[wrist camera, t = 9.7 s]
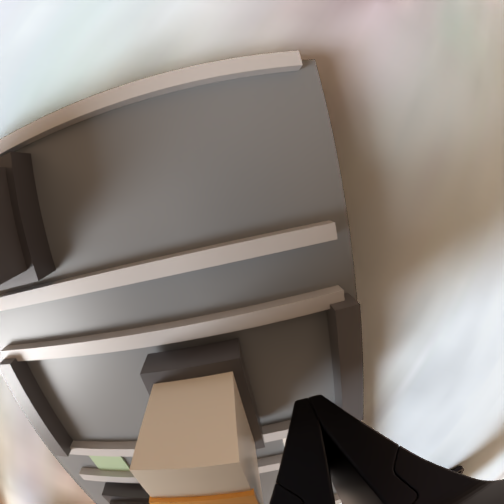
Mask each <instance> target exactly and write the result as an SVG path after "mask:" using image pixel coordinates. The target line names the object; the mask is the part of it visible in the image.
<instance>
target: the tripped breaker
mask: <svg viewBox="0 0 504 504" xmlns="http://www.w3.org/2000/svg"><path fill="white" fill-rule="evenodd" d="M140 376H141V378H142V380H143V383H144V385H145V387H146V389H147V391H148V394H149V396H150V397H149V401H148V404H147V407H146V411H145V414H144V418H143V421H142V425H141V428H140V432H139V436H138V439H137V443H136V446H135V450H134V454H133V458H132V461H131V465H130V469H129V470H130V472H131V473H132V474H133V475H134V477H135V478H136V479H137V481H138V482H139V483H140V484H141V486H142V487H143V488H144V489H145V491H146V492H147V493H148V494H149V495H150V497H149V503H150V504H264V503H263V497H262V490H261V483H260V476H259V470H258V463H257V456H256V449H260V448H265V443H264V437H263V431H262V425H261V422H260V418H259V415H258V411H257V407H256V404H255V400H254V397H253V393H252V389H251V386H250V382H249V378H248V374H247V371H246V367H245V363H244V359H243V355H242V352H241V348H240V344H239V340H238V338H235V339H230V340H225V341H220V342H215V343H210V344H204V345H199V346H193V347H187V348H182V349H176V350H170V351H163V352H157V353H150V354H148V355H147V357H146V360H145V362H144V365H143V367H142V370H141V372H140Z"/></svg>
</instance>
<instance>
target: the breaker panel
mask: <svg viewBox="0 0 504 504" xmlns="http://www.w3.org/2000/svg"><path fill="white" fill-rule="evenodd" d="M235 338H238V340H239V344H240V348H241V352H242V355H243V359H244V363H245V367H246V371H247V374H248V378H249V382H250V386H251V389H252V393H253V397H254V400H255V404H256V407H257V411H258V415H259V418H260V422H261V425H262V431H263V437H264V443H265V448H260V449H256V456H257V463H258V470H259V476H260V483H261V490H262V497H263V503H264V504H269V502H270V499H271V496H272V493H273V489H274V486H275V484H276V479H277V475H278V471H279V467H280V463H281V459H282V455H283V451H284V447H285V442H286V438H287V434H288V430H289V425H290V421H291V416H292V411H293V407H294V402H295V401H296V400H300V399H304V398H309V397H311V396H315V395H319V394H320V395H323V396H324V397H326V398H327V399H329V400H330V401H331V402H333V403H334V404H336V405H337V406H339V407H340V408H342V409H343V410H345V411H346V412H348V413H349V414H351V415H352V416H354V417H355V418H357V419H358V420H360V421H361V420H363V352H362V330H361V313H360V304H359V303H358V302H357V295H356V284H355V274H354V264H353V255H352V247H351V239H350V231H349V224H348V217H347V210H346V203H345V197H344V191H343V185H342V179H341V173H340V168H339V162H338V157H337V152H336V147H335V142H334V137H333V132H332V127H331V123H330V118H329V114H328V110H327V105H326V101H325V97H324V93H323V89H322V85H321V81H320V77H319V73H318V69H317V66H316V62H315V59H313V60H301V56H300V53H299V50H298V51H285V52H275V53H266V54H257V55H250V56H243V57H236V58H230V59H224V60H219V61H213V62H208V63H203V64H198V65H194V66H189V67H185V68H181V69H177V70H172V71H169V72H165V73H161V74H157V75H154V76H150V77H147V78H143V79H140V80H137V81H133V82H130V83H127V84H124V85H121V86H118V87H115V88H112V89H109V90H107V91H104V92H101V93H98V94H96V95H93V96H90V97H88V98H85V99H83V100H80V101H78V102H75V103H73V104H71V105H68V106H66V107H64V108H61V109H59V110H57V111H55V112H52V113H50V114H48V115H46V116H44V117H42V118H40V119H38V120H36V121H34V122H32V123H30V124H28V125H26V126H24V127H22V128H20V129H18V130H16V131H14V132H13V133H11V134H9V135H7V136H5V137H4V138H2V139H0V373H1V375H2V377H3V378H4V380H5V382H6V384H7V386H8V387H9V389H10V391H11V393H12V394H13V396H14V398H15V400H16V401H17V403H18V405H19V406H20V408H21V409H22V411H23V413H24V414H25V416H26V417H27V419H28V420H29V422H30V423H31V425H32V426H33V428H34V429H35V431H36V432H37V434H38V435H39V436H40V438H41V439H42V441H43V442H44V443H45V445H46V446H47V447H48V449H49V450H50V451H51V453H52V454H53V455H54V456H55V458H56V459H57V460H58V462H59V463H60V464H61V465H62V466H63V468H64V469H65V470H66V471H67V472H68V474H69V475H70V476H71V477H72V478H73V479H74V481H75V482H76V483H77V484H78V485H79V486H80V487H81V488H82V489H83V490H84V492H85V493H86V494H87V495H88V496H89V497H90V498H91V499H92V500H93V501H94V502H95V503H96V504H150V503H149V497H150V495H149V494H148V493H147V492H146V491H145V489H144V488H143V487H142V486H141V484H140V483H139V482H138V481H137V479H136V478H135V477H134V475H133V474H132V473H131V472H130V470H129V469H130V465H131V461H132V458H133V454H134V450H135V446H136V443H137V439H138V436H139V432H140V428H141V425H142V421H143V418H144V414H145V411H146V407H147V404H148V401H149V397H150V396H149V394H148V391H147V389H146V387H145V385H144V383H143V380H142V378H141V376H140V372H141V370H142V367H143V365H144V362H145V360H146V357H147V355H148V354H150V353H157V352H163V351H170V350H176V349H182V348H187V347H193V346H199V345H204V344H210V343H215V342H220V341H225V340H230V339H235ZM332 486H333V492H334V498H335V504H339V503H342V502H341V500H340V498H339V496H338V494H337V492H336V490H335V487H334V485H333V483H332Z"/></svg>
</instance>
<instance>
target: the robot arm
mask: <svg viewBox="0 0 504 504" xmlns="http://www.w3.org/2000/svg"><path fill="white" fill-rule="evenodd" d="M463 471H464V468H463V467H462V466H459V467H457V468H456V469H454V470H449V469H447V468H444V467H441V466H439V465H436V464H434V463H432V462H430V461H427V460H425V459H423V458H421V457H419V456H417V455H415V454H414V453H412V452H410V451H408V450H406V449H405V448H403V447H402V446H399V445H398V444H396V443H395V442H393V441H392V440H390V439H388V438H387V437H385V436H383V435H382V434H380V433H379V432H377V431H375V430H374V429H372V428H371V427H369V426H368V425H366V424H365V423H363V422H361V421H360V420H358V419H357V418H355V417H354V416H352V415H351V414H349V413H348V412H346V411H345V410H343V409H342V408H340V407H339V406H337V405H336V404H334V403H333V402H331V401H330V400H329V399H327V398H326V397H324V396H323V395H320V394H319V395H315V396H311V397H309V398H304V399H300V400H296V401H295V402H294V407H293V411H292V416H291V421H290V425H289V430H288V434H287V438H286V442H285V447H284V451H283V455H282V459H281V463H280V467H279V471H278V475H277V479H276V484H275V486H274V489H273V493H272V496H271V499H270V502H269V504H335V498H334V492H333V486H332V483H333V485H334V487H335V490H336V492H337V494H338V496H339V498H340V500H341V502H342V504H504V479H503V480H496V481H485V480H479V479H475V478H471V477H468V476H466V475H463V474H462V473H463Z"/></svg>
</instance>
